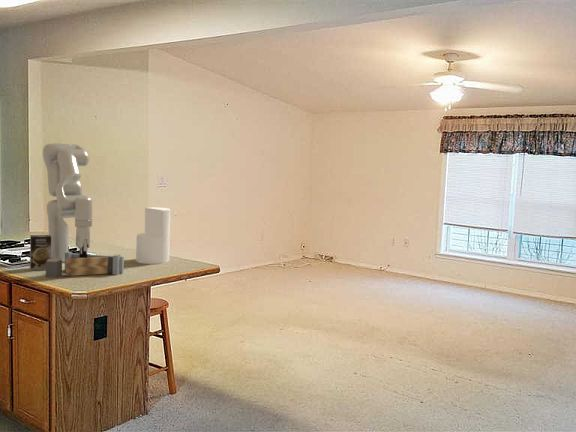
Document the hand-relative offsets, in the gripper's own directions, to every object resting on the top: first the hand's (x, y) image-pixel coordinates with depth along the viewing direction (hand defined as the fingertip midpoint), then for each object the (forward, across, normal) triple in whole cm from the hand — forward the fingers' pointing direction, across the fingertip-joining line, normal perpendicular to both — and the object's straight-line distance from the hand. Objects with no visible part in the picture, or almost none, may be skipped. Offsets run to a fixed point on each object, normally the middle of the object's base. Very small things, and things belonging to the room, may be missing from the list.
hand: (83, 262), depth 260 cm
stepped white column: (+5, -20, +39) cm, 44 cm away
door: (+5, +5, +2) cm, 7 cm away
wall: (+5, 0, +5) cm, 7 cm away
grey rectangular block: (+5, +2, -13) cm, 14 cm away
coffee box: (+5, -15, -17) cm, 23 cm away
